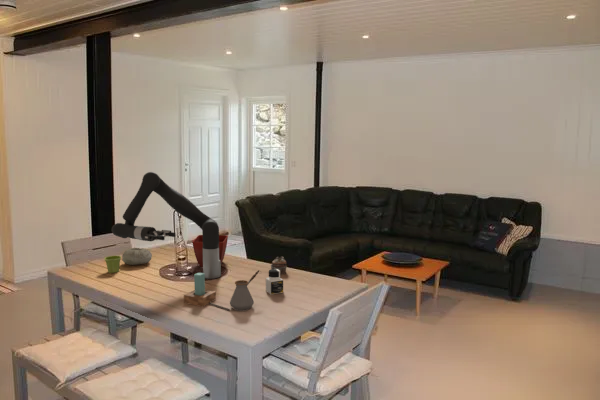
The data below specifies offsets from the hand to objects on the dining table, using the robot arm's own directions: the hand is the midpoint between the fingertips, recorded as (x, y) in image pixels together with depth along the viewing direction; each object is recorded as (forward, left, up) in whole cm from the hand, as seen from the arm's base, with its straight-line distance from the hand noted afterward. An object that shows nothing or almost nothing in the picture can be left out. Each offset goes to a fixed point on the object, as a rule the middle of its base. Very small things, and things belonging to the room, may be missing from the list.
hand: (169, 236), depth 252 cm
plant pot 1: (+15, -56, -30) cm, 65 cm away
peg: (-7, +20, -30) cm, 37 cm away
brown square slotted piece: (-7, +20, -30) cm, 37 cm away
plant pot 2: (-40, -38, -30) cm, 63 cm away
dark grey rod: (-11, +33, -30) cm, 46 cm away
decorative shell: (-2, -65, -30) cm, 71 cm away
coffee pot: (-24, +38, -30) cm, 54 cm away
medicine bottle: (-45, +29, -30) cm, 62 cm away
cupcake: (-65, +2, -30) cm, 72 cm away
